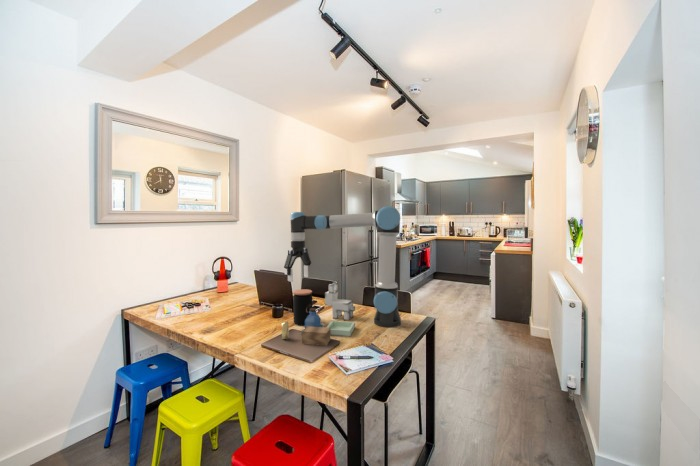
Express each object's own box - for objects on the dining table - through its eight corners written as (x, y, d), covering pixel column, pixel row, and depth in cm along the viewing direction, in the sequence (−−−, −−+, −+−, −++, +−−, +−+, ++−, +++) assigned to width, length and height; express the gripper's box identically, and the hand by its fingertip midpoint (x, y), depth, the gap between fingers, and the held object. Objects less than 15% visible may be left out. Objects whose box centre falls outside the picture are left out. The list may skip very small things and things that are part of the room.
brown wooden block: (330, 339, 143) (330, 327, 143) (326, 345, 136) (326, 333, 136) (307, 338, 145) (306, 326, 145) (302, 343, 138) (301, 331, 138)
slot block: (323, 328, 158) (323, 323, 158) (316, 336, 147) (316, 331, 147) (309, 327, 160) (309, 322, 160) (301, 335, 148) (301, 330, 148)
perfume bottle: (320, 330, 155) (320, 307, 155) (315, 334, 150) (315, 311, 149) (310, 328, 157) (310, 306, 157) (304, 333, 152) (304, 310, 151)
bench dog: (289, 337, 145) (289, 321, 145) (287, 340, 142) (286, 324, 142) (283, 337, 146) (283, 321, 145) (280, 339, 143) (280, 323, 142)
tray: (354, 327, 158) (354, 322, 158) (349, 336, 146) (349, 330, 146) (331, 326, 161) (331, 320, 161) (324, 335, 148) (324, 329, 148)
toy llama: (351, 321, 169) (351, 286, 168) (325, 317, 176) (324, 284, 176) (356, 317, 176) (356, 284, 175) (331, 314, 183) (330, 282, 182)
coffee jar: (308, 326, 161) (308, 293, 160) (290, 325, 163) (290, 293, 163) (315, 320, 171) (314, 289, 171) (297, 319, 174) (297, 288, 173)
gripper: (306, 239, 173) (307, 274, 174) (276, 241, 151) (277, 282, 152) (316, 239, 169) (317, 276, 170) (287, 241, 148) (288, 283, 148)
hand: (298, 279), depth 161 cm, fingers open, 13 cm apart
